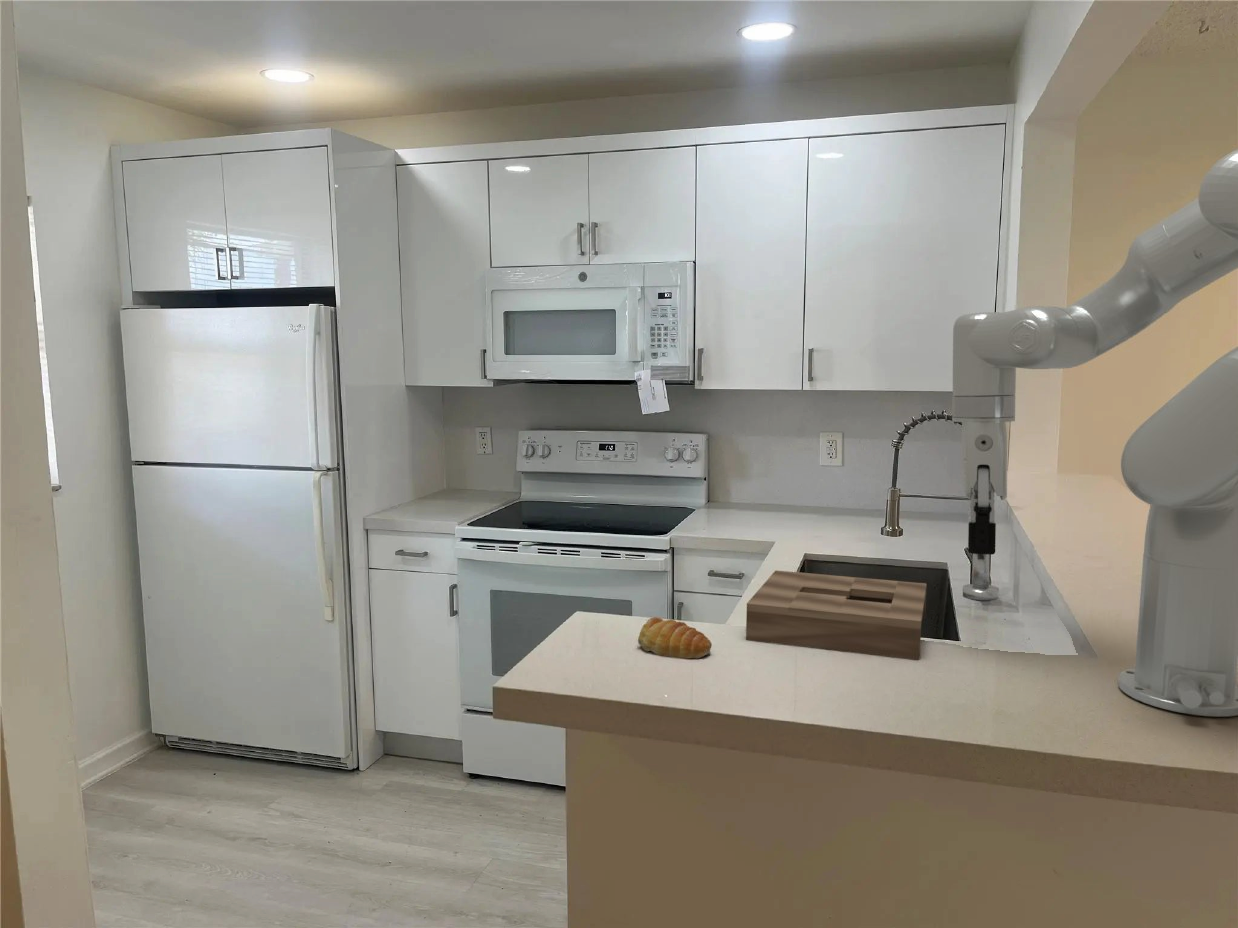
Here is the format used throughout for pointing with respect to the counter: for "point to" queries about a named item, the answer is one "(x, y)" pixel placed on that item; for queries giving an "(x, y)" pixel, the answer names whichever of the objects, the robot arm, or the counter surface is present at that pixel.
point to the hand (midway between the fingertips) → (981, 549)
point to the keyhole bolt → (980, 577)
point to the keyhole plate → (839, 614)
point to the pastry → (673, 639)
